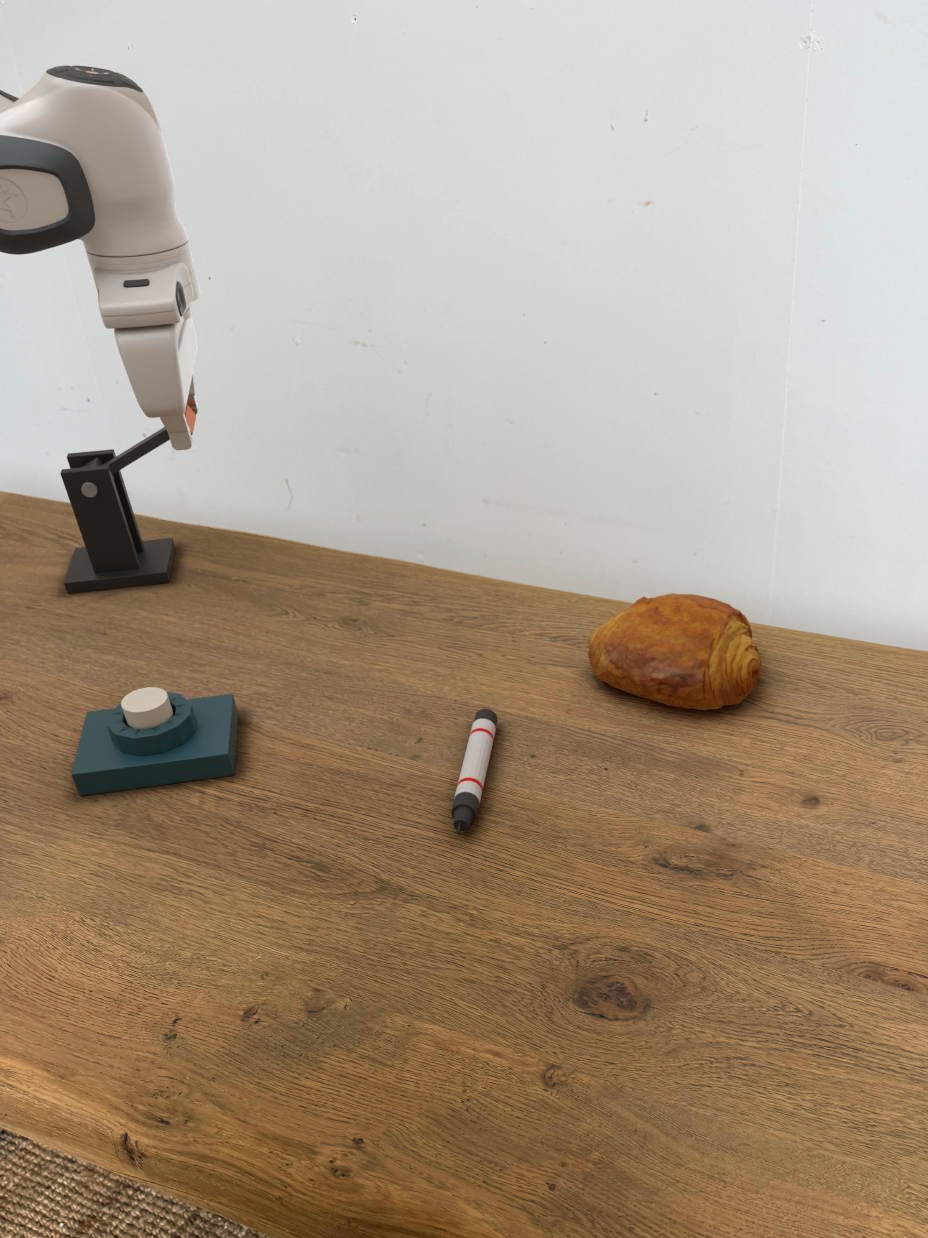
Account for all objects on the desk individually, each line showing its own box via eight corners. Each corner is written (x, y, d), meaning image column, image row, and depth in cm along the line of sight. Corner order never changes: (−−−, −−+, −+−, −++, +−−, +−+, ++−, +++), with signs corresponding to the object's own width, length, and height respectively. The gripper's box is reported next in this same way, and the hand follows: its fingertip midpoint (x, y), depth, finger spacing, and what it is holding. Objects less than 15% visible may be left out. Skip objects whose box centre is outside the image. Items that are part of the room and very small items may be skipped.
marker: (475, 727, 100) (473, 708, 99) (498, 727, 100) (496, 708, 99) (447, 844, 88) (444, 824, 87) (473, 845, 88) (470, 824, 87)
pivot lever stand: (175, 547, 127) (144, 440, 119) (169, 582, 121) (136, 471, 113) (78, 558, 125) (40, 450, 118) (67, 593, 119) (26, 482, 112)
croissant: (713, 757, 100) (727, 683, 94) (561, 685, 105) (566, 610, 99) (788, 673, 109) (805, 601, 103) (645, 611, 114) (654, 538, 108)
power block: (79, 796, 94) (63, 755, 91) (94, 732, 100) (79, 693, 98) (234, 775, 96) (222, 735, 93) (238, 714, 102) (227, 675, 100)
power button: (124, 732, 94) (118, 714, 93) (129, 708, 97) (123, 690, 96) (171, 726, 95) (165, 708, 93) (175, 702, 97) (169, 684, 96)
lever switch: (200, 420, 118) (184, 399, 116) (196, 439, 114) (180, 417, 112) (93, 485, 119) (76, 465, 118) (87, 505, 116) (69, 485, 114)
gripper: (123, 251, 114) (163, 395, 123) (96, 314, 99) (143, 473, 108) (190, 247, 115) (225, 390, 124) (173, 308, 99) (214, 466, 108)
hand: (186, 429), depth 116 cm, fingers open, 8 cm apart
